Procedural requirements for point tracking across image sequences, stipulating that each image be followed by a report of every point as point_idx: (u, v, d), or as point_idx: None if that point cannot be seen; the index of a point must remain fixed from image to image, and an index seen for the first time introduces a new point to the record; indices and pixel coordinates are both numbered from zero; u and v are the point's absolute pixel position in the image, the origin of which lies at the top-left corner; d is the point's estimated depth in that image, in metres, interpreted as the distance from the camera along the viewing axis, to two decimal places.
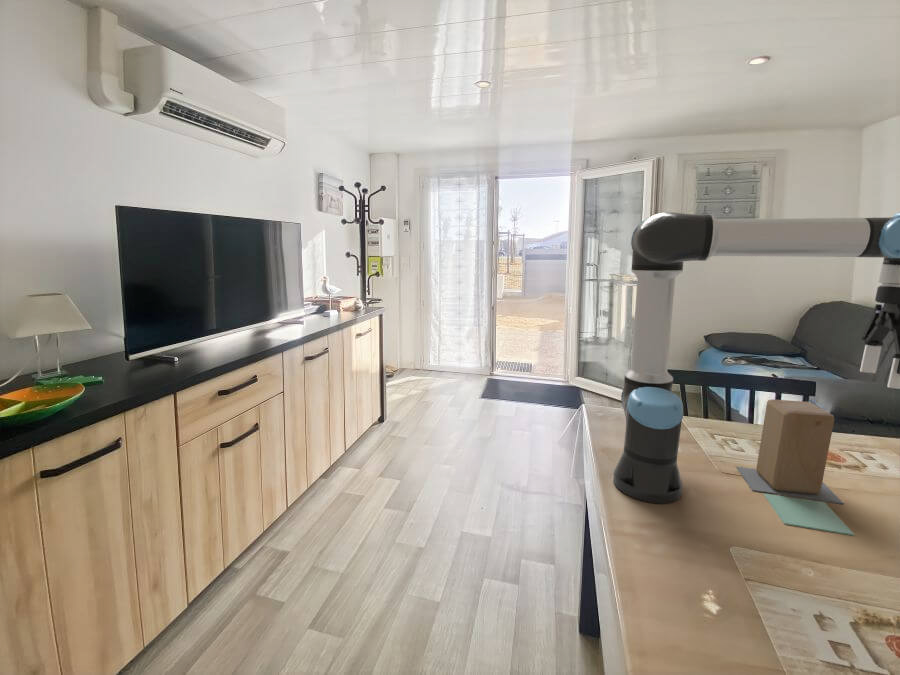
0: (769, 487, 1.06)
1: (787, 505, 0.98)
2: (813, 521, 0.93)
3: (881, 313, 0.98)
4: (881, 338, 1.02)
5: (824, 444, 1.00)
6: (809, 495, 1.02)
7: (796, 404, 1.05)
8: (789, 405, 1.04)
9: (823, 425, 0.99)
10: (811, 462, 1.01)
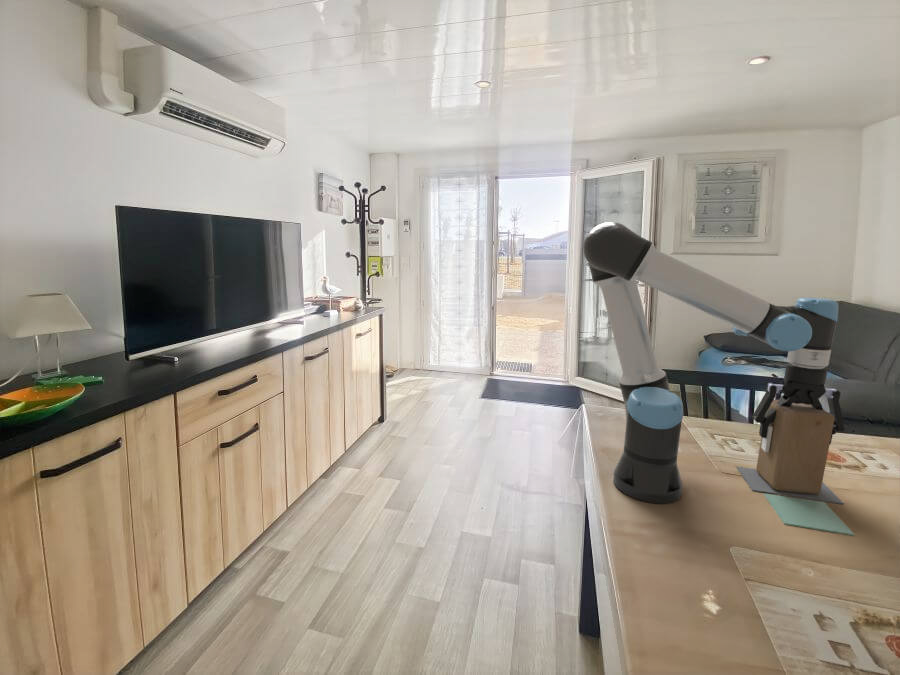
0: (769, 487, 1.06)
1: (787, 505, 0.98)
2: (813, 521, 0.93)
3: None
4: None
5: (824, 444, 1.00)
6: (809, 495, 1.02)
7: (796, 404, 1.05)
8: None
9: (823, 425, 0.99)
10: (811, 462, 1.01)
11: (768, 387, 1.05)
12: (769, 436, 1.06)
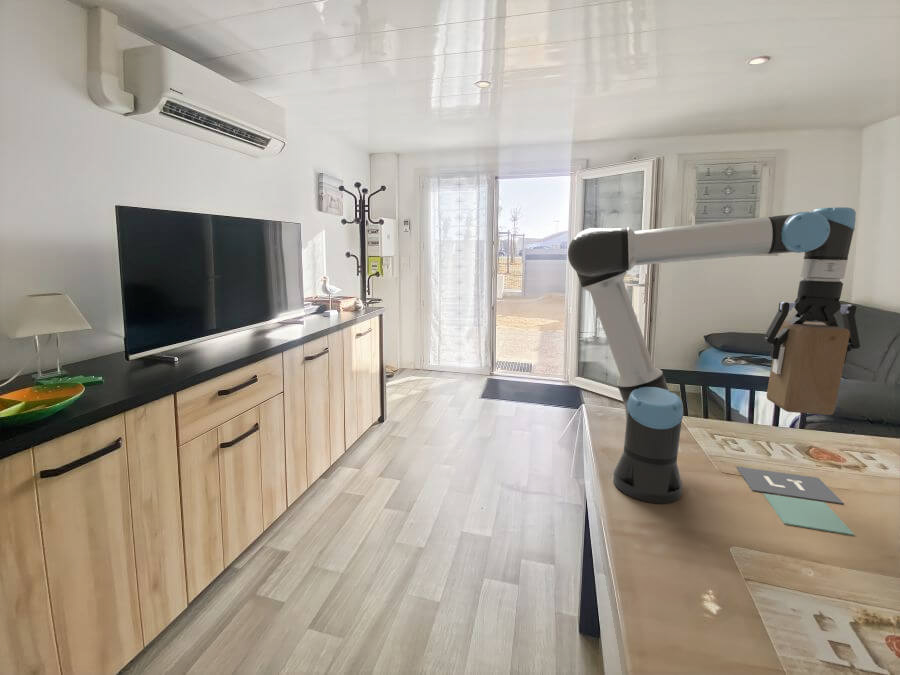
0: (769, 487, 1.06)
1: (787, 505, 0.98)
2: (813, 521, 0.93)
3: None
4: None
5: (839, 361, 0.96)
6: (809, 495, 1.02)
7: (809, 323, 1.01)
8: (802, 323, 1.00)
9: (838, 340, 0.95)
10: (825, 380, 0.97)
11: (781, 305, 1.01)
12: (781, 357, 1.02)
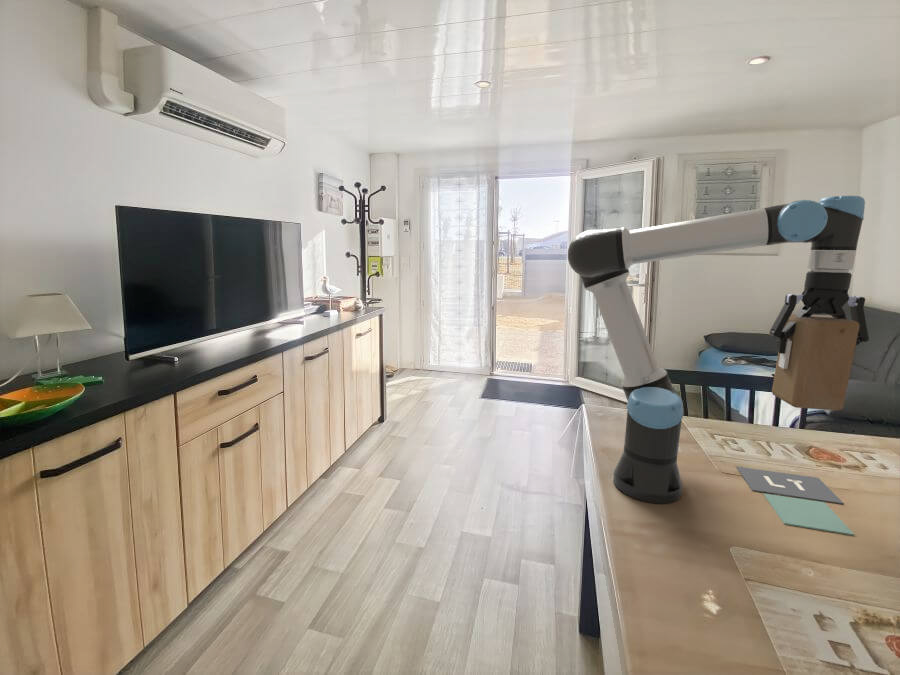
0: (769, 487, 1.06)
1: (787, 505, 0.98)
2: (813, 521, 0.93)
3: None
4: None
5: (848, 354, 0.93)
6: (809, 495, 1.02)
7: (816, 316, 0.98)
8: None
9: (847, 333, 0.92)
10: (834, 374, 0.94)
11: (787, 298, 0.98)
12: (788, 351, 0.99)
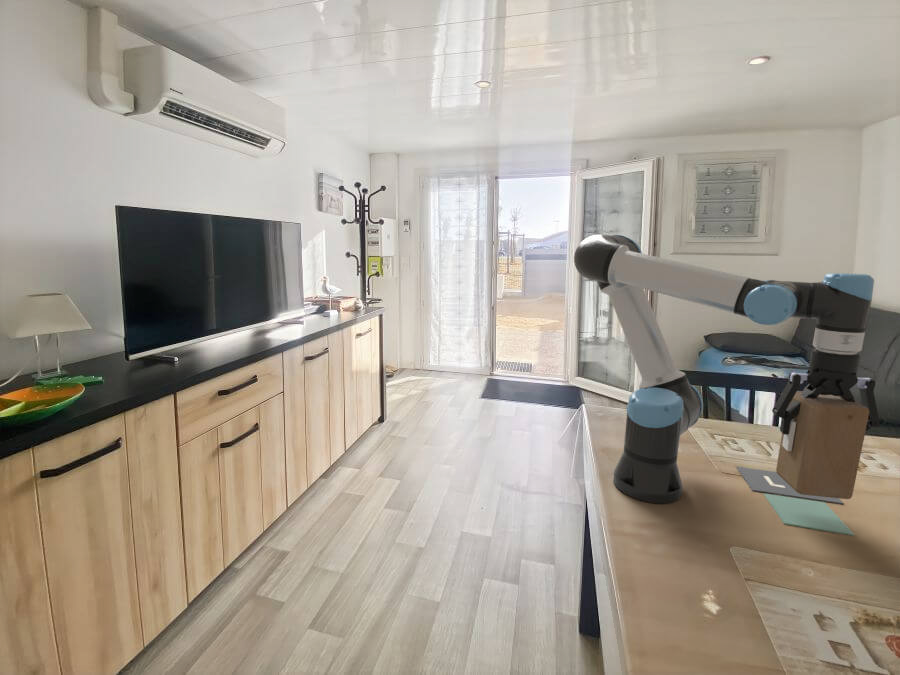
0: (769, 487, 1.06)
1: (787, 505, 0.98)
2: (813, 521, 0.93)
3: None
4: None
5: (857, 441, 0.86)
6: (809, 495, 1.02)
7: (822, 395, 0.92)
8: None
9: (856, 420, 0.86)
10: (842, 462, 0.88)
11: (791, 376, 0.92)
12: (792, 432, 0.93)
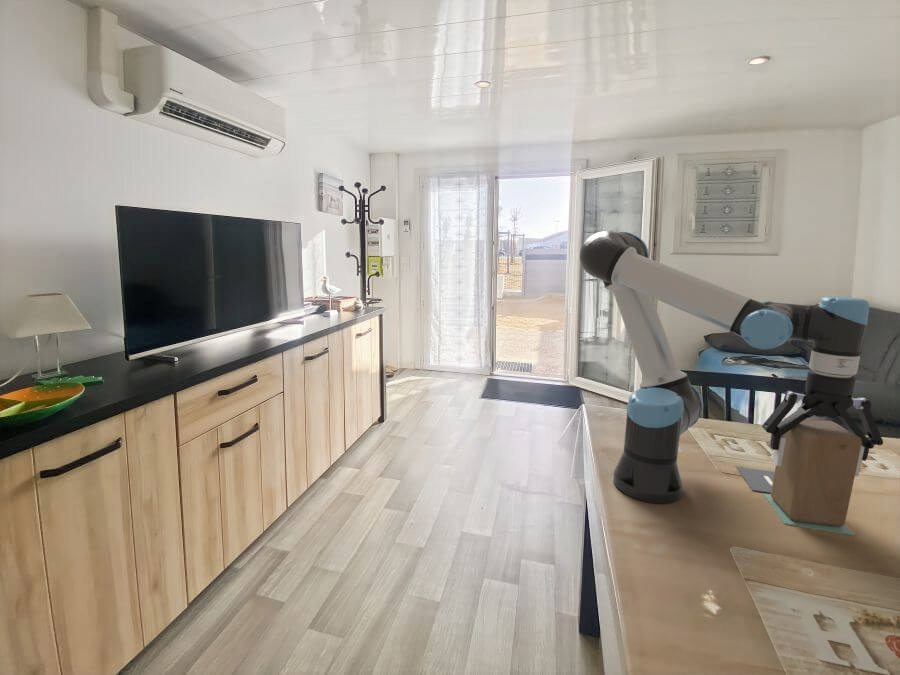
0: (769, 487, 1.06)
1: None
2: None
3: None
4: None
5: (850, 470, 0.88)
6: None
7: (816, 423, 0.93)
8: (809, 425, 0.92)
9: (849, 449, 0.87)
10: (835, 490, 0.89)
11: (787, 395, 0.93)
12: (781, 448, 0.94)
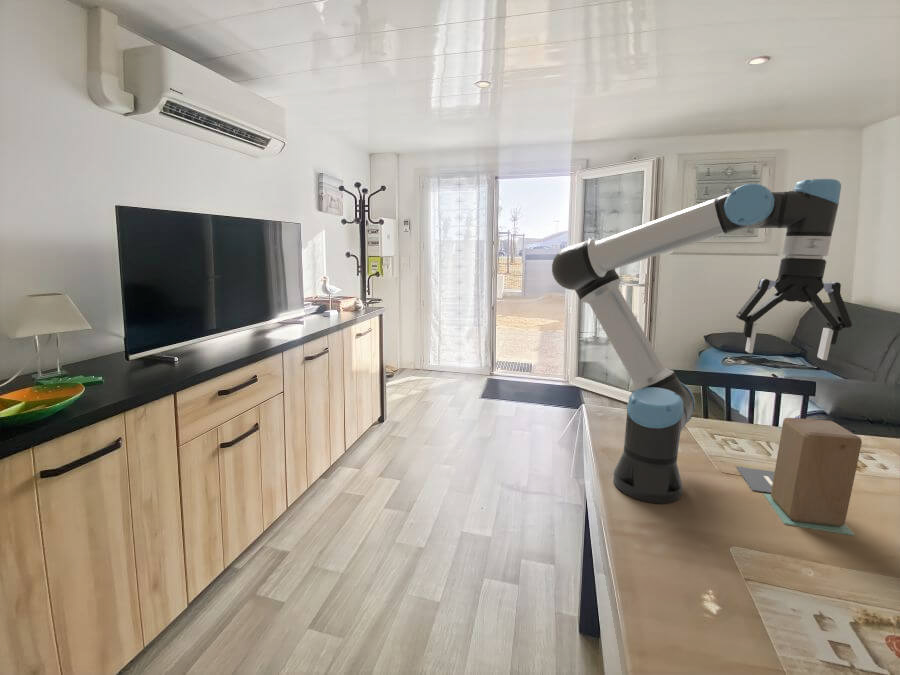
0: (769, 487, 1.06)
1: None
2: None
3: None
4: (825, 319, 0.92)
5: (850, 470, 0.88)
6: None
7: (816, 423, 0.93)
8: (809, 425, 0.92)
9: (849, 449, 0.87)
10: (835, 490, 0.89)
11: (761, 282, 0.95)
12: (753, 335, 0.97)
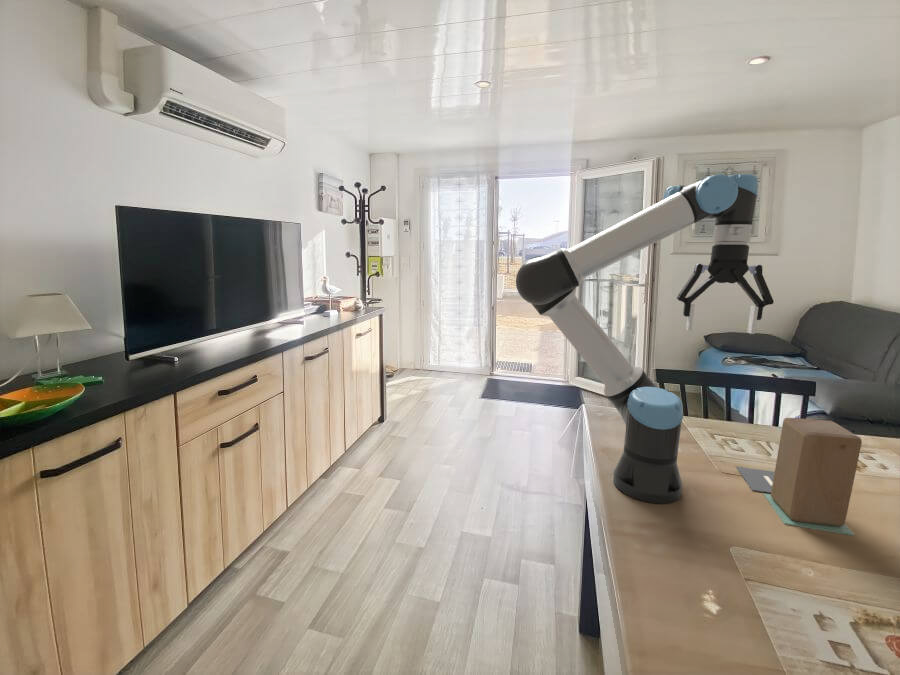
0: (769, 487, 1.06)
1: None
2: None
3: None
4: (752, 298, 1.05)
5: (850, 470, 0.88)
6: None
7: (816, 423, 0.93)
8: (809, 425, 0.92)
9: (849, 449, 0.87)
10: (835, 490, 0.89)
11: (695, 267, 1.08)
12: (691, 314, 1.09)
